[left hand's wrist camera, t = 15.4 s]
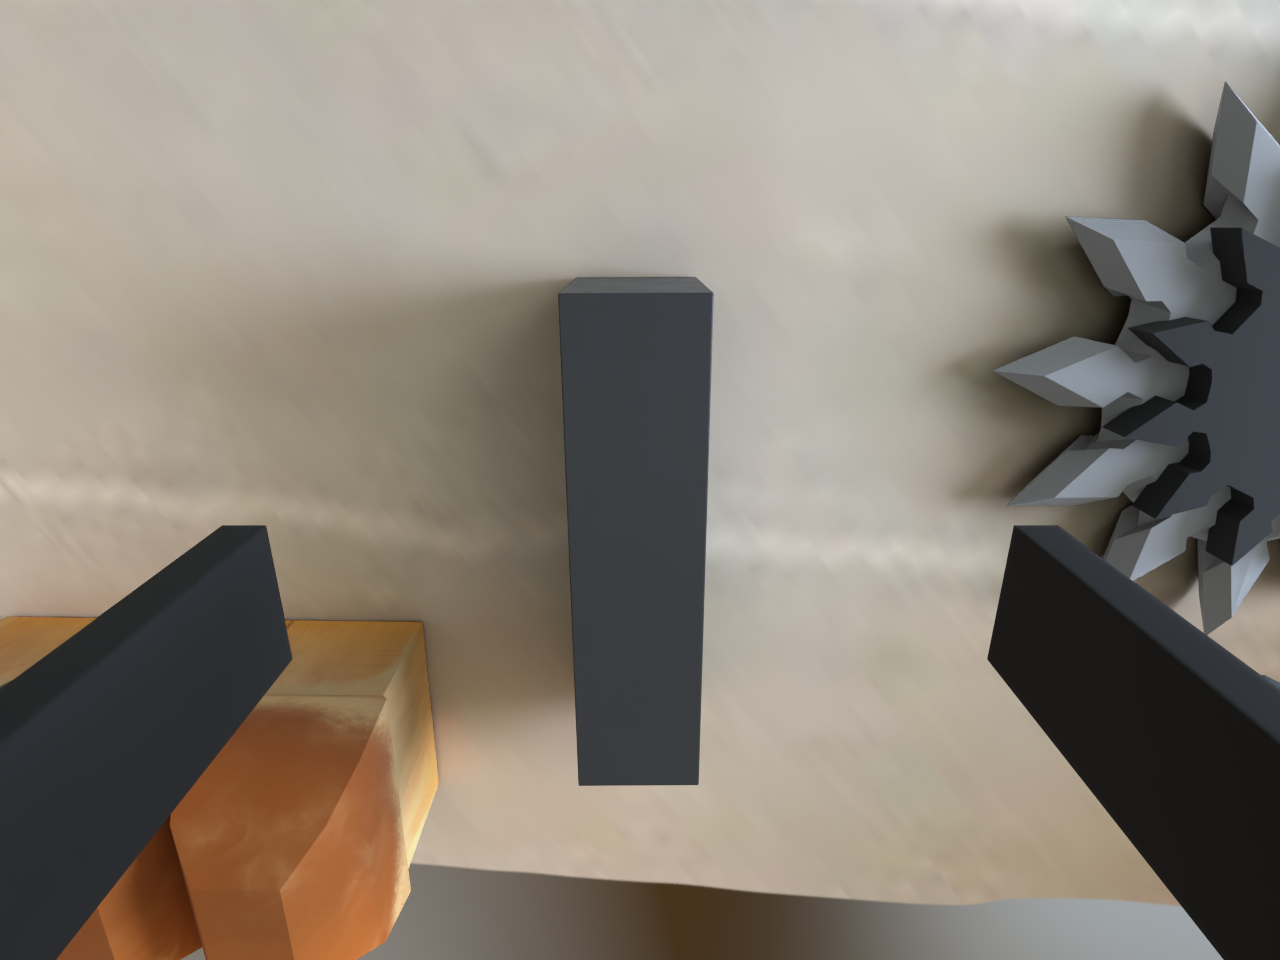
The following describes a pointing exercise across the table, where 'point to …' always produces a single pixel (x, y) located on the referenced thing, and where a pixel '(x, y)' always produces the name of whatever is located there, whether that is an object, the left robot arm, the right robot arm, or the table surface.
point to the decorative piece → (1182, 379)
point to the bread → (281, 808)
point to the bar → (637, 520)
